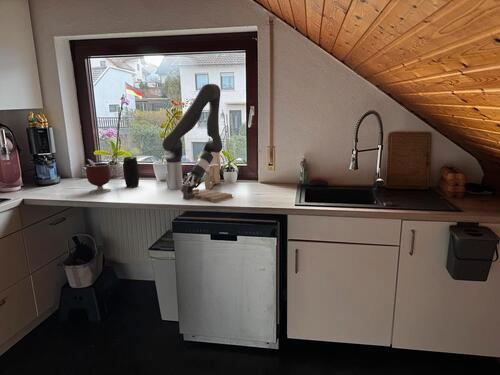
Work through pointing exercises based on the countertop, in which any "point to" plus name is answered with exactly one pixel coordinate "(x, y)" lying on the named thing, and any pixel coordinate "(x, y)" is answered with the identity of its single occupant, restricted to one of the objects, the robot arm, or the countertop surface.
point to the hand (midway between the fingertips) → (185, 192)
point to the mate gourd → (98, 176)
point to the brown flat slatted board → (211, 195)
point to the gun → (212, 176)
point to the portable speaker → (131, 172)
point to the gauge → (185, 194)
